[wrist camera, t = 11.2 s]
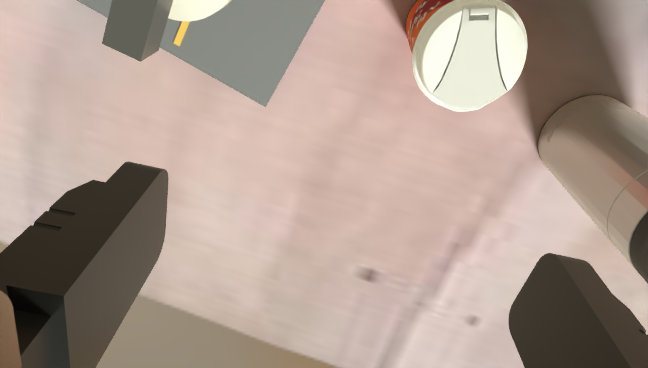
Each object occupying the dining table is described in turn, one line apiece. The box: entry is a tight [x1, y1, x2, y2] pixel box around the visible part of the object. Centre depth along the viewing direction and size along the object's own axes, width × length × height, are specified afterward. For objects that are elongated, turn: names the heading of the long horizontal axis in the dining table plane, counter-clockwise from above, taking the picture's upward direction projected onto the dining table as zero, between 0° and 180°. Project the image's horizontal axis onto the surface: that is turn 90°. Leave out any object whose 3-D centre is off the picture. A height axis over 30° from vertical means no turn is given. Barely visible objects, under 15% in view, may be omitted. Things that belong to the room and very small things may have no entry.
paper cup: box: [406, 0, 528, 112], centre depth 35 cm, size 8×8×14 cm
